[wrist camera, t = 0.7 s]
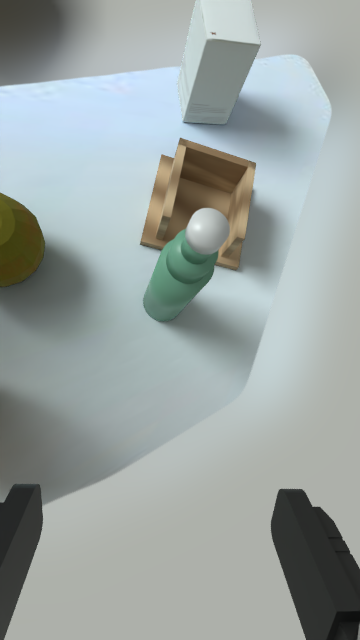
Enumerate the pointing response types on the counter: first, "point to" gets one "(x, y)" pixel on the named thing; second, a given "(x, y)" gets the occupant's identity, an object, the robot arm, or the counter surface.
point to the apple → (18, 242)
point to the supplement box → (216, 59)
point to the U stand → (200, 196)
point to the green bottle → (186, 264)
